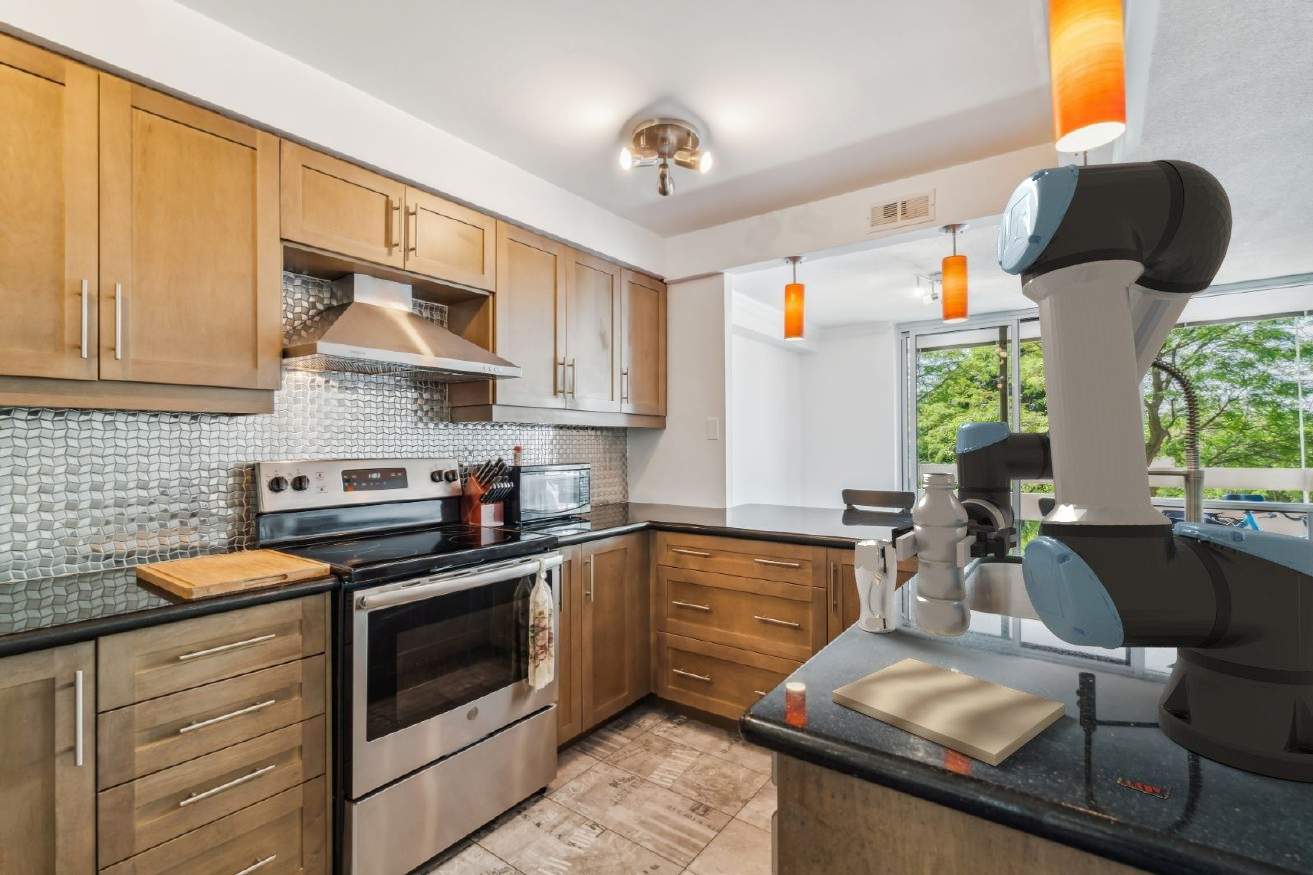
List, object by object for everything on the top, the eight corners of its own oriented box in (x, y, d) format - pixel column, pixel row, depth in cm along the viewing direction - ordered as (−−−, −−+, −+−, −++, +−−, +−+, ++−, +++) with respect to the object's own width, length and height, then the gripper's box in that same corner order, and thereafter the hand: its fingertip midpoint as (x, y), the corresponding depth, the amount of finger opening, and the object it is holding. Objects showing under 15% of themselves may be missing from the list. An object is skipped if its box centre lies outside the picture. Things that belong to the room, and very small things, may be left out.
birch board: (1064, 714, 73) (1064, 704, 73) (995, 766, 62) (995, 754, 62) (908, 666, 89) (908, 657, 89) (831, 700, 78) (831, 691, 78)
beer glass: (891, 621, 109) (889, 538, 109) (903, 634, 103) (901, 545, 102) (851, 621, 110) (850, 538, 110) (861, 634, 103) (859, 545, 103)
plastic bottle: (911, 638, 74) (907, 475, 74) (916, 623, 80) (913, 472, 80) (970, 646, 71) (966, 475, 71) (971, 629, 77) (968, 472, 77)
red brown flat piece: (1168, 779, 59) (1168, 775, 59) (1178, 807, 55) (1178, 802, 55) (1109, 766, 62) (1109, 762, 62) (1114, 792, 58) (1114, 787, 58)
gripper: (1048, 559, 84) (1023, 595, 66) (904, 546, 96) (850, 574, 78) (1046, 505, 84) (1021, 526, 66) (903, 499, 96) (849, 515, 78)
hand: (929, 552), depth 72 cm, fingers closed on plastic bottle, 6 cm apart
